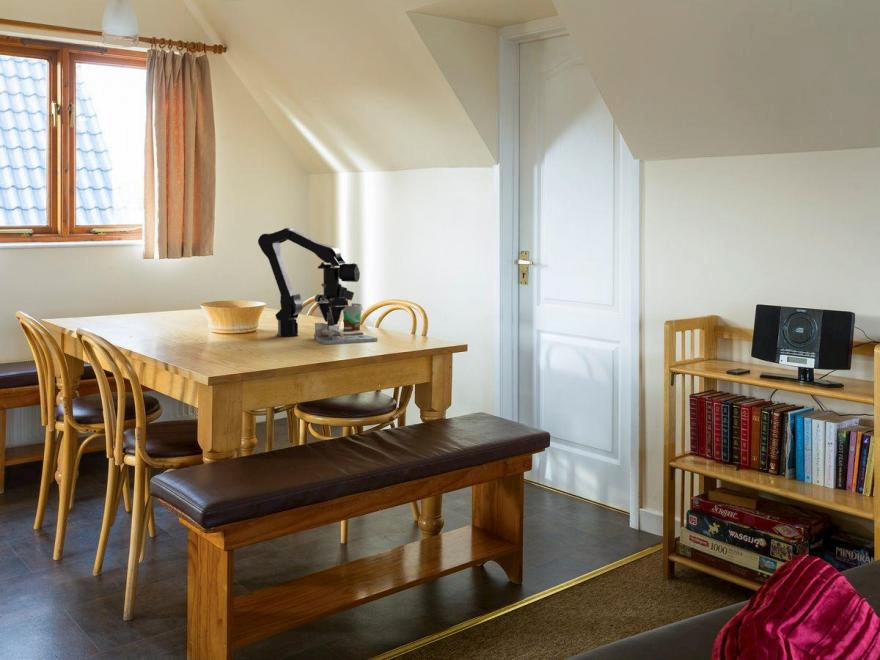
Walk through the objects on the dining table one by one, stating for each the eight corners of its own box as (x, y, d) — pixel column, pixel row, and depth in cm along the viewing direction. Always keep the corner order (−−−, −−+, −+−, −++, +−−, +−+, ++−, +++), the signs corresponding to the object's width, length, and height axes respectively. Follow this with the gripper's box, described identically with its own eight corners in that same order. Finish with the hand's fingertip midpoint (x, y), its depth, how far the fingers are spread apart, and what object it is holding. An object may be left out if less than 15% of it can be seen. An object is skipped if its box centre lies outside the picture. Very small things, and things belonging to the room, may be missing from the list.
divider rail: (326, 342, 326) (326, 327, 325) (313, 337, 337) (313, 323, 337) (372, 339, 334) (372, 324, 334) (358, 335, 346) (358, 320, 345)
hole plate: (325, 344, 321) (325, 340, 321) (315, 340, 330) (315, 337, 330) (377, 341, 330) (377, 337, 330) (366, 337, 339) (366, 334, 339)
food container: (357, 332, 355) (357, 306, 354) (342, 331, 356) (342, 306, 355) (366, 328, 367) (366, 303, 366) (352, 327, 368) (351, 303, 367)
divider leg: (336, 337, 328) (336, 314, 326) (323, 333, 339) (323, 311, 338) (347, 336, 329) (347, 314, 328) (333, 332, 341) (333, 310, 340)
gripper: (361, 282, 331) (361, 325, 333) (342, 278, 347) (342, 319, 349) (332, 283, 326) (332, 326, 328) (314, 279, 342) (314, 320, 344)
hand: (331, 323), depth 337 cm, fingers open, 9 cm apart
